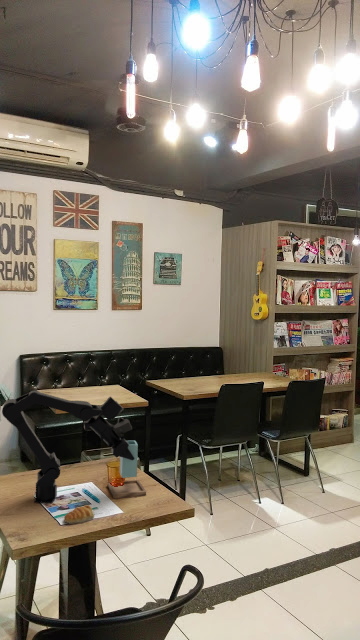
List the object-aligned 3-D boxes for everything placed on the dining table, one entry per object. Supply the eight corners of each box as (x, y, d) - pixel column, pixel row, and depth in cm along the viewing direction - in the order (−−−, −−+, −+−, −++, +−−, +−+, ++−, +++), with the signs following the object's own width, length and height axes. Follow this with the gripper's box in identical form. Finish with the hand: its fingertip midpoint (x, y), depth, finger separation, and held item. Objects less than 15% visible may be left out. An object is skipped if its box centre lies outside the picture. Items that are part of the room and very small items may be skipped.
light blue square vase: (121, 477, 178) (123, 445, 178) (119, 472, 183) (120, 441, 183) (136, 476, 180) (137, 444, 179) (133, 471, 185) (135, 440, 184)
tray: (113, 498, 176) (113, 494, 176) (107, 486, 187) (107, 482, 187) (146, 495, 180) (146, 491, 179) (137, 483, 191) (138, 479, 191)
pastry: (70, 527, 153) (70, 515, 153) (59, 520, 158) (60, 508, 158) (95, 519, 160) (96, 507, 160) (84, 512, 165) (85, 501, 165)
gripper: (123, 419, 170) (153, 448, 174) (115, 407, 188) (142, 434, 192) (100, 442, 169) (130, 471, 172) (94, 428, 186) (121, 454, 190)
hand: (132, 456), depth 182 cm, fingers closed on light blue square vase, 5 cm apart
